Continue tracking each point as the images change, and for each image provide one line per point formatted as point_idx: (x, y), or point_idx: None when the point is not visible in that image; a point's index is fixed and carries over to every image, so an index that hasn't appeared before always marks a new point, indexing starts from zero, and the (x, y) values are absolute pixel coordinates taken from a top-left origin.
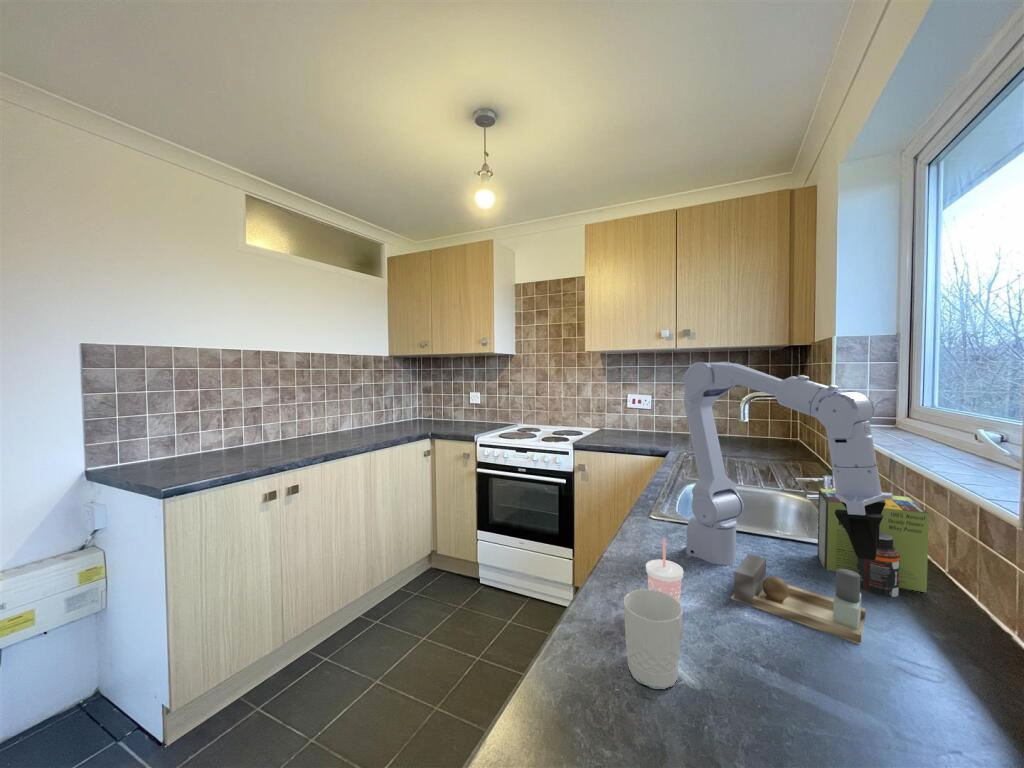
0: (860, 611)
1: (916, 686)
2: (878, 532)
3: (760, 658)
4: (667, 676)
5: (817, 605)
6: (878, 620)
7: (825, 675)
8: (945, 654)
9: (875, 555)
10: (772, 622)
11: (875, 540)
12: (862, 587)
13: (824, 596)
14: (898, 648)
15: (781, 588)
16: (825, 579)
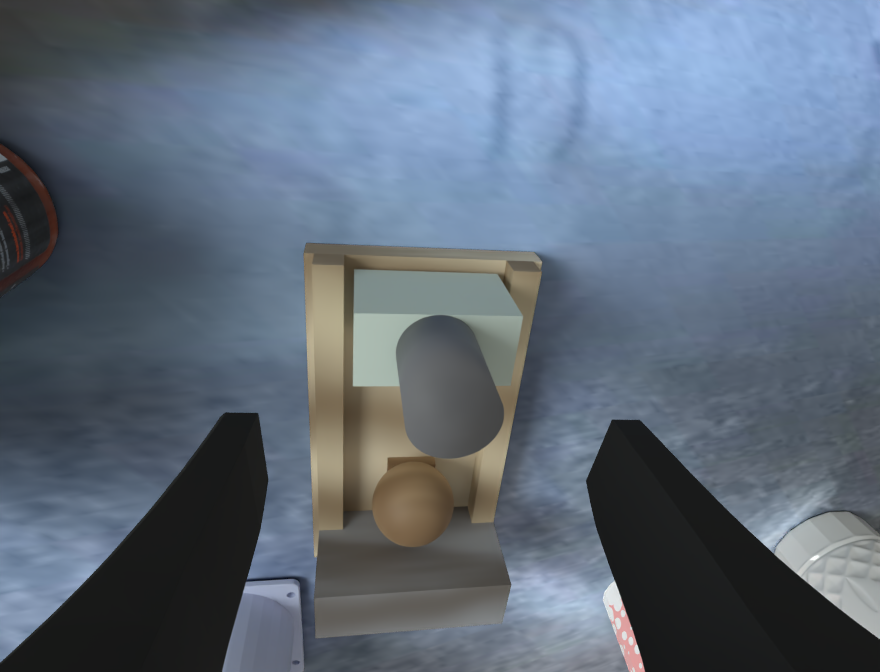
0: (373, 281)
1: (637, 115)
2: (215, 499)
3: (692, 431)
4: (878, 535)
5: None
6: (257, 203)
7: (695, 316)
8: None
9: (659, 442)
10: (510, 445)
11: (762, 546)
12: (34, 270)
13: (320, 383)
14: (432, 148)
15: (444, 500)
16: (32, 378)
